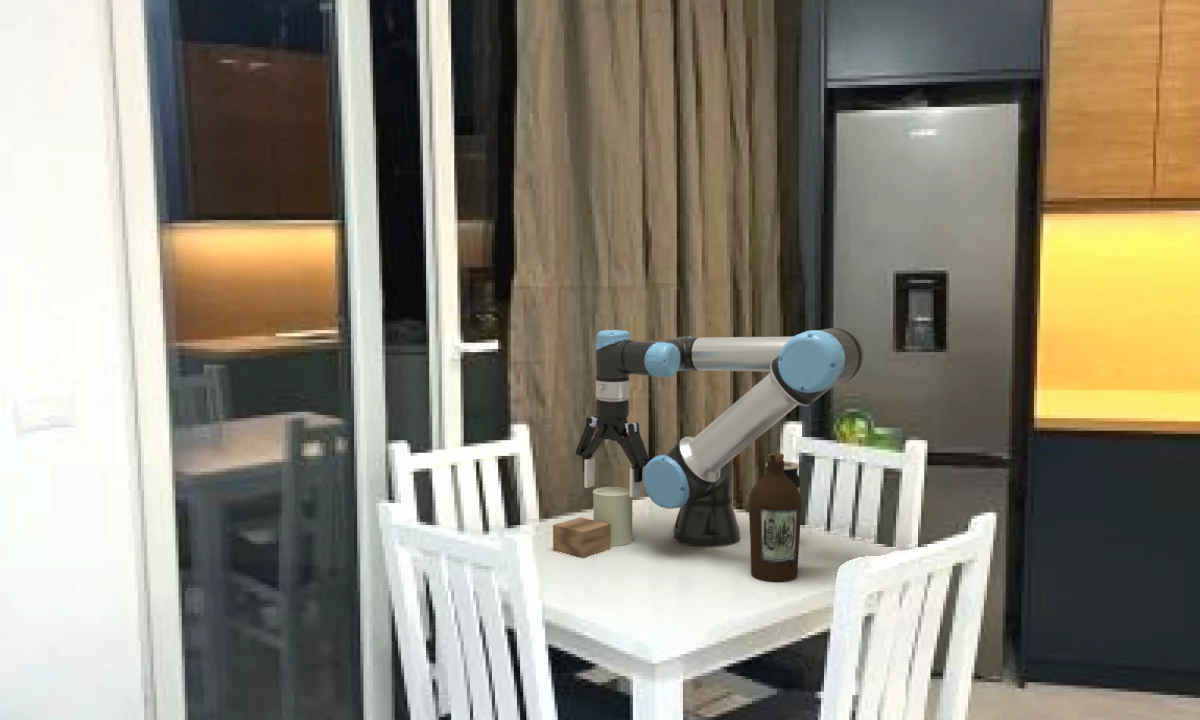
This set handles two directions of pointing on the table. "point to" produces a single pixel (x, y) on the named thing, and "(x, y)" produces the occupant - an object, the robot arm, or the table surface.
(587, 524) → the walnut block
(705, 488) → the robot arm
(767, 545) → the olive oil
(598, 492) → the can
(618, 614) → the table surface
